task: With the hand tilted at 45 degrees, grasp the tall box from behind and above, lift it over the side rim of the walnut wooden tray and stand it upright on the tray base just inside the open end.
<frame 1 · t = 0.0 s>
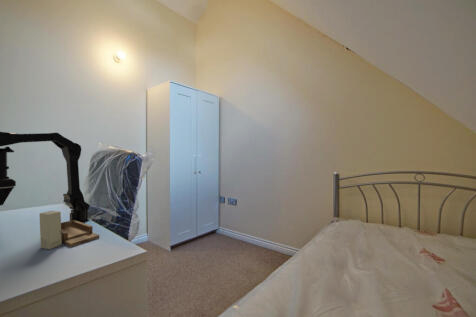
box: (50, 247, 79), on the table
tray: (69, 235, 90), on the table
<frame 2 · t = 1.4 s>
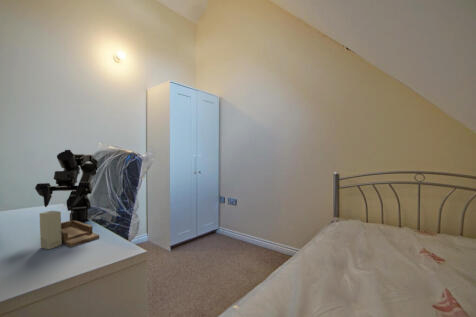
hand: (59, 205, 86), 13 cm above the table, tool tilted 45°, fingers open, 9 cm apart
nothing on the table moved.
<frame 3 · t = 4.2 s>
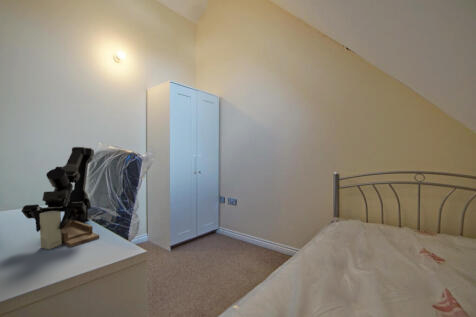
hand: (48, 230, 78), 7 cm above the table, tool tilted 45°, fingers closed on box, 6 cm apart
box: (50, 247, 79), on the table, touching gripper
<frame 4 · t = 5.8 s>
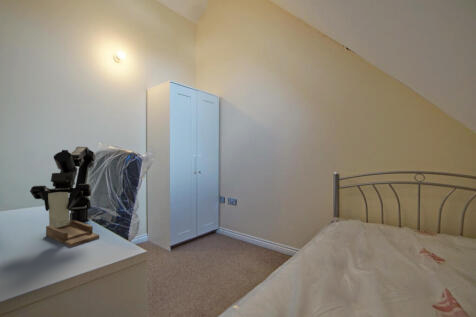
hand: (57, 209, 81), 13 cm above the table, tool tilted 45°, fingers closed on box, 6 cm apart
box: (59, 226, 83), point 6 cm above the table, touching gripper
when the fingers open (10 cm above the table, at t = 7.5 s): box drops 1 cm, resting on tray.
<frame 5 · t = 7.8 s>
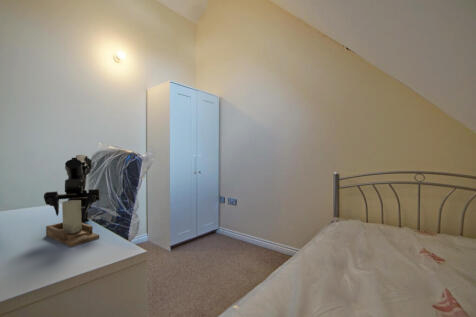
hand: (71, 213, 87), 10 cm above the table, tool tilted 45°, fingers open, 9 cm apart
box: (72, 232, 89), point 2 cm above the table, touching tray
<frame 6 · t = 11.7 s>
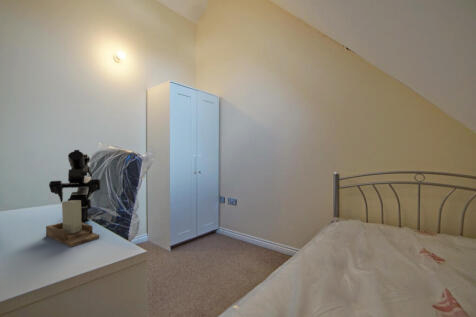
hand: (74, 200, 95), 14 cm above the table, tool tilted 45°, fingers open, 9 cm apart
nothing on the table moved.
at the end: box inside the target area on the tray (1.5 cm from its centre), point 1.8 cm above the tray's base; box tilted 0°; the gripper is holding nothing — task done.
